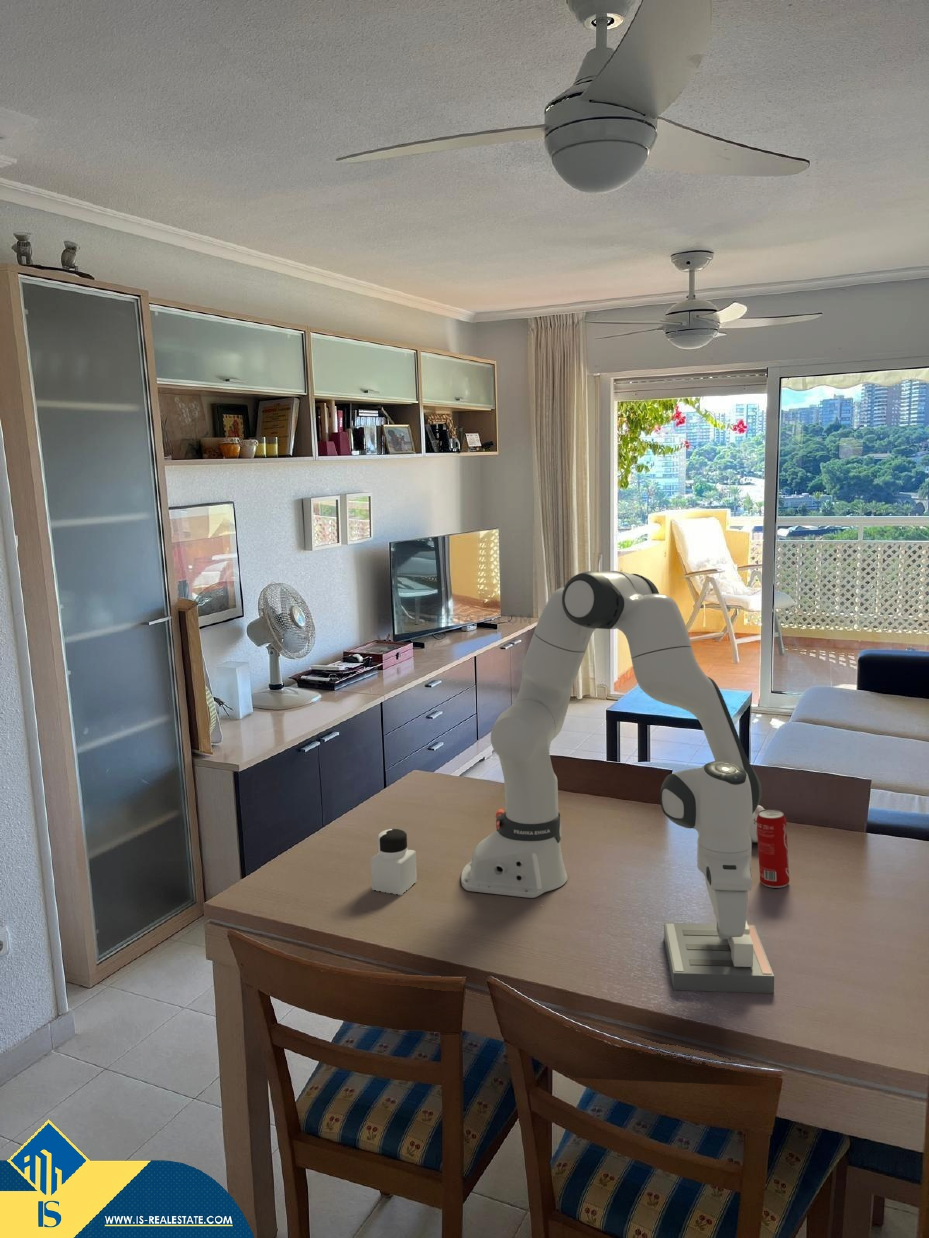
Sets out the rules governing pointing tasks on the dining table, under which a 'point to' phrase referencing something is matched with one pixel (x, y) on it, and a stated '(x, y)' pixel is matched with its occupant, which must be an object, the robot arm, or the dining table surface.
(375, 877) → the medicine bottle
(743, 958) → the front handle
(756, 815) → the cat figurine
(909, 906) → the dining table surface
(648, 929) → the dining table surface
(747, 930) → the beige square block
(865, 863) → the dining table surface
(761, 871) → the beverage can
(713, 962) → the grey slider board
